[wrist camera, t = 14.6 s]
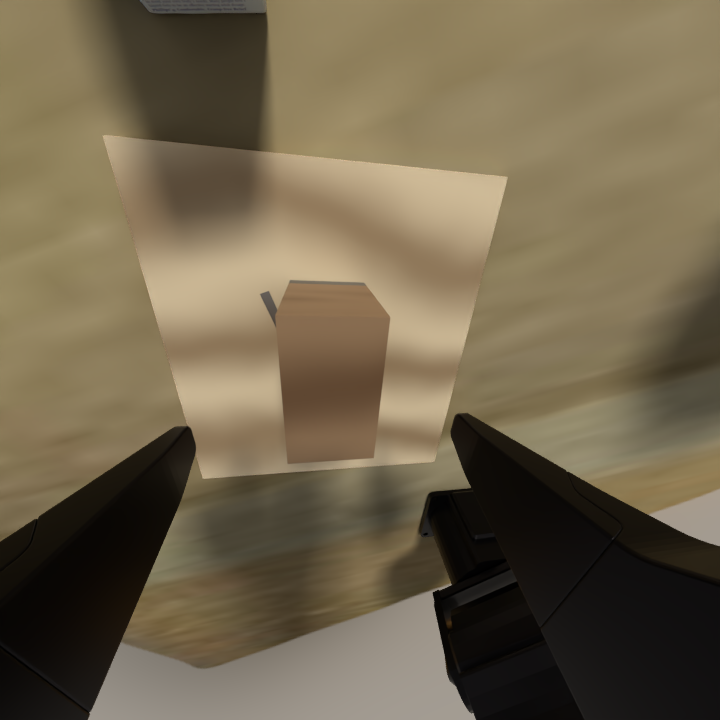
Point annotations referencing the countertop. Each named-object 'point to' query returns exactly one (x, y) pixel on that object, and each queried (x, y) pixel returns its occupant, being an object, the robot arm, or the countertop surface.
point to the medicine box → (205, 6)
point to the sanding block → (331, 369)
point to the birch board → (308, 263)
